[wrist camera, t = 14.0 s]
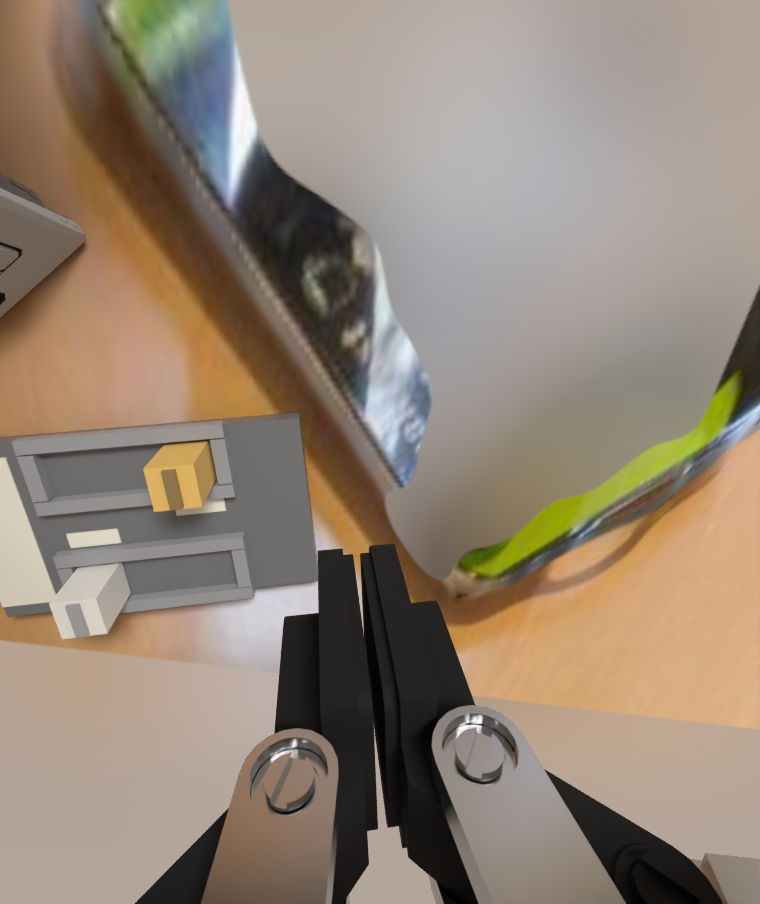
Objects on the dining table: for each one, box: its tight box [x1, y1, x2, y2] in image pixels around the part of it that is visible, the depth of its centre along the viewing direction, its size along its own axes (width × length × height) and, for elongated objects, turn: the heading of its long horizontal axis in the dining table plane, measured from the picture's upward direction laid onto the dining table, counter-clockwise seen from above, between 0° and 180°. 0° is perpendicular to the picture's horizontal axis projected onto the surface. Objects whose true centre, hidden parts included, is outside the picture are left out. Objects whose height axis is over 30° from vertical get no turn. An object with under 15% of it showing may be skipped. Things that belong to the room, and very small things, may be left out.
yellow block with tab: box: [143, 440, 216, 512], centre depth 32 cm, size 3×3×5 cm
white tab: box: [49, 562, 131, 639], centre depth 34 cm, size 3×3×5 cm
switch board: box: [0, 412, 318, 617], centre depth 36 cm, size 15×24×2 cm, turn 93°
